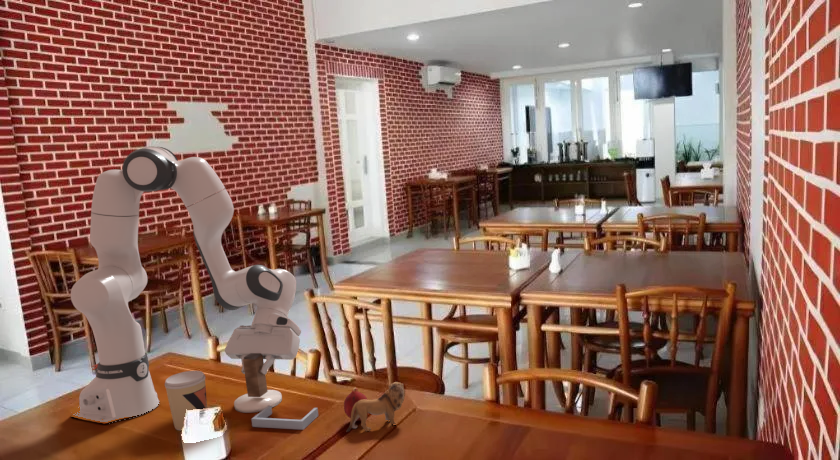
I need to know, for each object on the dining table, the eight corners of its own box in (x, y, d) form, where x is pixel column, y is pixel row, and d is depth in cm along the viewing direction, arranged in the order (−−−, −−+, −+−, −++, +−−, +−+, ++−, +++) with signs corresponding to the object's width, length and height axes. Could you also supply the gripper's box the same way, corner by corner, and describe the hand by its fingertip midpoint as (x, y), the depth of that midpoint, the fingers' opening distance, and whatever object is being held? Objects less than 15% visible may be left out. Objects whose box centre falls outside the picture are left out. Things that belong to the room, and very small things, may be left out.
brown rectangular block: (248, 396, 163) (242, 357, 162) (255, 391, 167) (250, 352, 165) (260, 397, 162) (254, 357, 161) (267, 391, 166) (262, 352, 164)
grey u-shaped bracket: (252, 426, 150) (251, 418, 150) (269, 413, 157) (268, 405, 157) (303, 429, 146) (302, 421, 146) (318, 415, 153) (317, 407, 153)
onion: (366, 426, 144) (362, 393, 143) (342, 426, 145) (338, 393, 144) (373, 415, 150) (369, 383, 149) (350, 415, 151) (346, 383, 150)
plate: (225, 411, 161) (224, 407, 161) (251, 393, 172) (250, 389, 172) (266, 413, 157) (265, 409, 157) (290, 394, 168) (289, 390, 168)
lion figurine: (403, 413, 149) (399, 377, 148) (411, 421, 145) (408, 384, 143) (343, 429, 144) (339, 392, 143) (350, 438, 139) (346, 399, 138)
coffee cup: (194, 433, 149) (187, 384, 148) (162, 431, 152) (155, 383, 151) (219, 416, 158) (212, 370, 157) (188, 414, 161) (181, 369, 160)
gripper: (230, 320, 172) (212, 367, 164) (296, 319, 165) (282, 368, 158) (241, 331, 177) (225, 377, 169) (306, 331, 170) (293, 379, 162)
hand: (253, 373), depth 163 cm, fingers closed on brown rectangular block, 4 cm apart
